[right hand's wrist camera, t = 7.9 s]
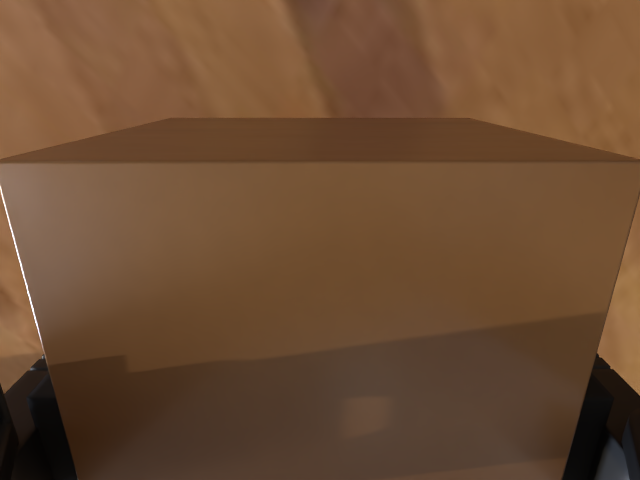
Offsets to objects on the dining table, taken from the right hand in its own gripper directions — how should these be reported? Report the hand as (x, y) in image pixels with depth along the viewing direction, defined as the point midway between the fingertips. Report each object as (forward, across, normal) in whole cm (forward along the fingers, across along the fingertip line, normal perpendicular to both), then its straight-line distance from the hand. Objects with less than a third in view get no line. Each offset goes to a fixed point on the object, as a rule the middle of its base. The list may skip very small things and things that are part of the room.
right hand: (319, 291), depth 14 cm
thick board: (0, 0, -34) cm, 34 cm away
